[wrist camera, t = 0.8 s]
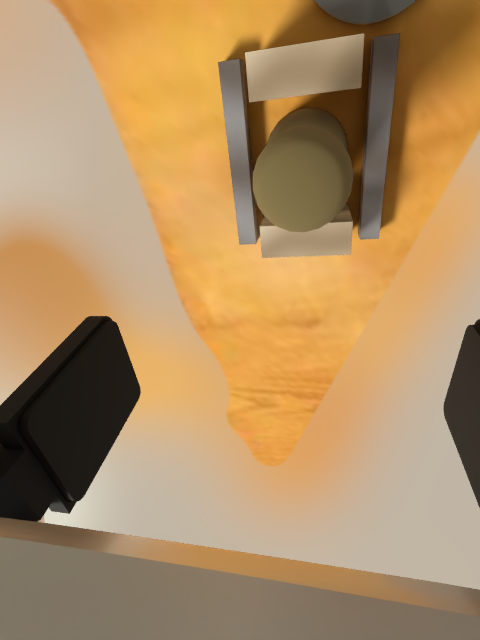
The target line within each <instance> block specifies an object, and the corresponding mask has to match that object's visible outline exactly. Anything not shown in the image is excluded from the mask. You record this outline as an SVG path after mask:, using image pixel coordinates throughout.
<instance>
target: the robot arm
mask: <svg viewBox="0 0 480 640" xmlns="http://www.w3.org/2000/svg"><path fill="white" fill-rule="evenodd" d="M139 397H140V386H139V383H138V380H137V378H136V374H135V372H134V369H133V366H132V363H131V361H130V358H129V355H128V352H127V350H126V347H125V344H124V342H123V338H122V336H121V333H120V330H119V327H118V325H117V323H116V322H114V321H112V319H111V318H110V317H107V316H90V317H87V318H86V319H85V320H84V321H83V322H82V323H81V324H80V325H79V326H78V327H77V328H76V329H75V330H74V331H73V332H72V333H71V334H70V335H69V336H68V337H67V338H66V339H65V340H64V341H63V342H62V343H61V344H60V345H59V346H58V347H57V348H56V349H55V350H54V351H53V352H52V353H51V354H50V355H49V356H48V357H47V358H46V360H44V361H43V363H42V364H41V365H40V366H39V367H38V368H37V369H36V370H35V371H34V372H33V373H32V374H31V375H30V376H29V377H28V378H27V379H26V380H25V381H24V382H23V383H22V384H21V385H20V386H19V387H18V388H17V389H16V390H15V391H14V392H13V393H12V394H11V395H10V396H9V397H8V398H7V399H6V400H5V401H4V402H3V403H2V404H1V405H0V640H480V590H478V589H472V588H466V587H460V586H454V585H449V584H443V583H437V582H431V581H425V580H418V579H412V578H405V577H399V576H392V575H386V574H380V573H373V572H366V571H361V570H354V569H348V568H341V567H335V566H329V565H322V564H316V563H309V562H303V561H297V560H290V559H284V558H277V557H270V556H264V555H257V554H250V553H244V552H237V551H231V550H224V549H218V548H211V547H204V546H198V545H191V544H184V543H178V542H171V541H164V540H158V539H151V538H144V537H138V536H131V535H124V534H117V533H110V532H103V531H96V530H89V529H83V528H76V527H68V526H62V525H55V524H48V523H44V514H45V512H46V510H47V509H48V507H49V508H50V510H51V511H55V512H62V513H68V514H70V512H71V510H72V509H73V507H74V505H75V503H76V502H77V501H79V500H81V499H82V498H83V497H84V495H85V493H86V492H87V490H88V488H89V486H90V484H91V483H92V481H93V479H94V477H95V476H96V474H97V472H98V470H99V469H100V467H101V465H102V463H103V462H104V460H105V458H106V456H107V454H108V453H109V451H110V449H111V447H112V446H113V444H114V442H115V440H116V438H117V436H118V435H119V433H120V431H121V430H122V428H123V426H124V424H125V422H126V421H127V419H128V417H129V415H130V413H131V412H132V410H133V408H134V406H135V405H136V403H137V401H138V399H139ZM444 416H445V419H446V421H447V424H448V427H449V429H450V432H451V435H452V437H453V440H454V442H455V445H456V447H457V450H458V453H459V455H460V458H461V460H462V463H463V465H464V468H465V471H466V474H467V476H468V479H469V481H470V484H471V487H472V489H473V492H474V494H475V497H476V499H477V502H478V505H479V507H480V319H479V320H477V321H476V323H475V325H469V326H468V327H467V329H466V331H465V334H464V338H463V341H462V344H461V348H460V351H459V355H458V358H457V361H456V365H455V368H454V372H453V375H452V378H451V381H450V385H449V388H448V392H447V395H446V398H445V402H444Z"/></svg>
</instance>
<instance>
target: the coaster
mask: <svg viewBox="0 0 480 640" xmlns="http://www.w3.org/2000/svg"><path fill="white" fill-rule="evenodd" d="M314 1H315V2H316V3H317V5H318V6H319V7H320V8H321V9H322V10H323V11H325V12H326V13H327V14H329V15H330V16H332V17H333V18H335V19H337V20H339V21H342V22H345V23H349V24H357V25H364V24H373V23H377V22H381V21H383V20H386V19H388V18H391V17H393V16H395V15H396V14H398V13H400V12H402V11H403V10H405V9H406V8H407V7H409V6H410V5H411V4H413V3H414V2H415V1H416V0H314Z"/></svg>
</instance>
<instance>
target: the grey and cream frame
mask: <svg viewBox="0 0 480 640" xmlns="http://www.w3.org/2000/svg"><path fill="white" fill-rule="evenodd" d="M399 41H400V33H398V34H392V35H386V36H380V37H375V38H373V39H372V41H371V55H370V69H369V83H368V98H367V112H366V126H365V140H364V154H363V169H362V183H361V197H360V211H359V226H358V235H359V238H360V239H379V233H380V223H381V214H382V204H383V195H384V185H385V175H386V166H387V156H388V147H389V137H390V127H391V118H392V108H393V99H394V89H395V79H396V70H397V60H398V51H399ZM363 49H364V33H363V34H357V35H350V36H344V37H338V38H332V39H326V40H319V41H313V42H307V43H301V44H295V45H289V46H282V47H276V48H270V49H264V50H258V51H252V52H245V58H246V70H247V82H248V94H249V102H256V101H264V100H271V99H279V98H287V97H294V96H302V95H310V94H317V93H325V92H333V91H340V90H348V89H356V88H361V82H362V66H363ZM218 66H219V74H220V83H221V91H222V100H223V108H224V117H225V125H226V134H227V142H228V151H229V159H230V167H231V176H232V184H233V193H234V201H235V210H236V218H237V227H238V235H239V244H240V245H241V244H256V243H257V240H258V238H259V237H258V225H257V214H256V202H255V196H254V192H253V168H252V156H251V145H250V133H249V122H248V110H247V99H246V87H245V75H244V64H243V60H241V59H235V60H228V61H222V62H218ZM352 229H353V220H352V216H351V213H350V209H349V205H348V204H345V206H344V208H343V209H342V210H341V211H340V212H339V213H338V214H337V216H336V217H335V218H334V219H333V220H332V221H331V222H329V223H327V224H326V225H324V226H322V227H321V228H319V229H315V230H312V231H308V232H290V231H287V230H284V229H282V228H279V227H277V226H275V225H274V224H273V223H272V222H270V221H269V220H268V219H267V218H266V217H265V216H264V217H263V220H262V222H261V224H260V238H261V250H262V258H273V257H302V256H331V255H351V245H352Z"/></svg>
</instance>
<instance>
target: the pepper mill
mask: <svg viewBox="0 0 480 640" xmlns="http://www.w3.org/2000/svg"><path fill="white" fill-rule="evenodd" d="M353 177H354V175H353V168H352V162H351V158H350V156H349V154H348V143H347V137H346V133H345V131H344V129H343V127H342V125H341V123H340V122H339V121H338V120H337V119H336V118H335V117H334V116H333V115H332V114H330V113H329V112H327V111H324V110H321V109H319V108H301V109H299V110H296V111H293V112H291V113H289V114H288V115H286V116H285V117H284V118H283V119H282V120H280V121H279V122H278V124H277V125H276V126H275V128H274V129H273V131H272V132H271V134H270V137H269V140H268V143H267V145H266V146H265V148H264V149H263V151H262V152H261V154H260V155H259V156H258V158H257V162H256V165H255V168H254V171H253V192H254V196H255V199H256V202H257V205H258V207H259V209H260V210H261V211H262V213H263V214H264V216H265V217H266V218H267V219H268V220H269V221H270V222H272V223H273V224H274V225H275V226H277V227H279V228H282V229H284V230H287V231H290V232H308V231H312V230H315V229H319V228H321V227H322V226H324V225H326V224H327V223H329V222H331V221H332V220H333V219H334V218H335V217H336V216H337V214H338V213H339V212H340V211H341V210H342V209H343V208H344V206H345V204H346V202H347V200H348V198H349V196H350V194H351V190H352V183H353Z"/></svg>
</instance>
